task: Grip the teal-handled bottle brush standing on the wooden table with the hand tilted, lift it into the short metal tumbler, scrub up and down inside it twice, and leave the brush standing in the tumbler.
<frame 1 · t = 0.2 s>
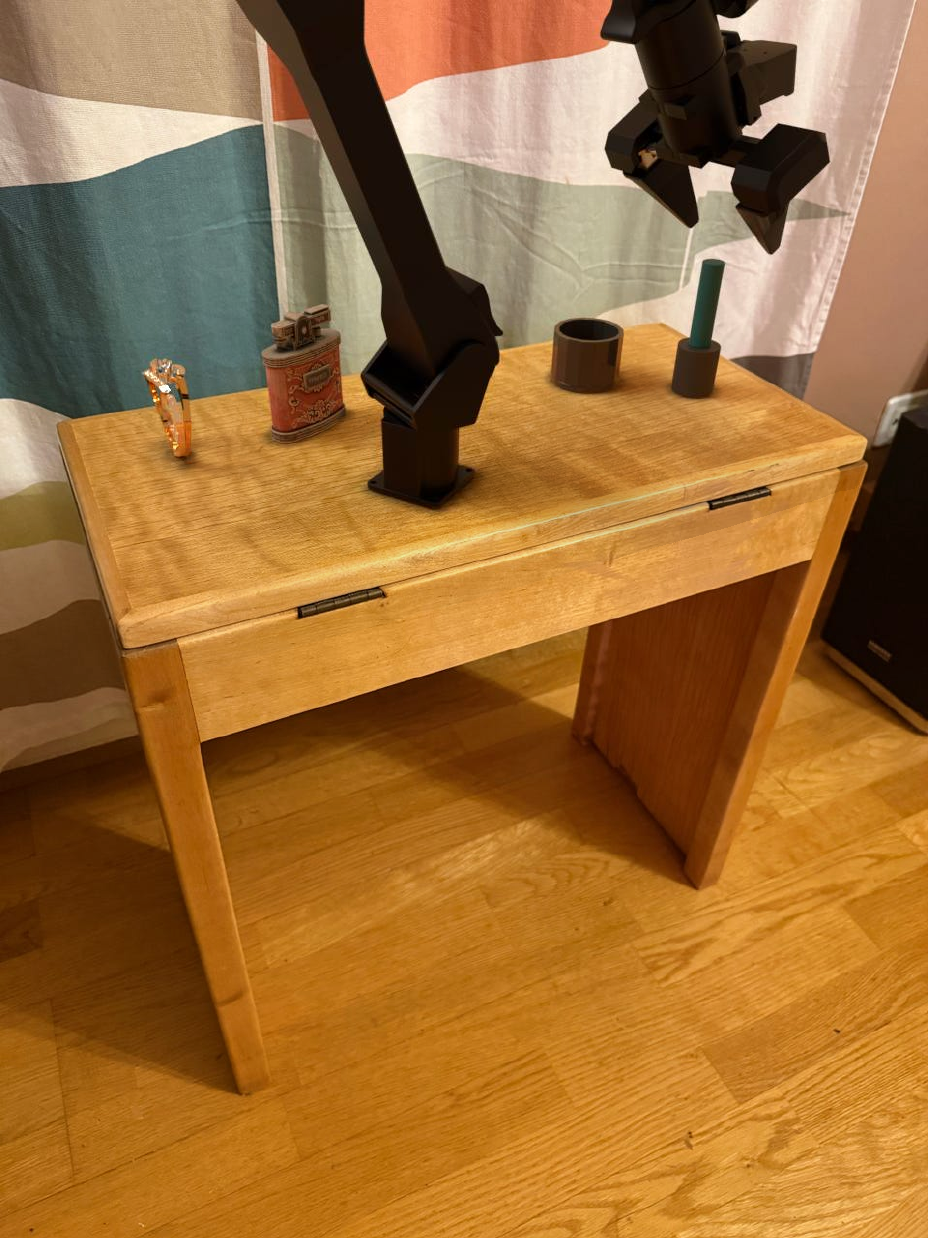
hand: (732, 237, 77), 15 cm above the table, tool tilted 35°, fingers open, 9 cm apart
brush: (691, 389, 88), on the table
ring: (179, 456, 76), on the table
tumbler: (584, 379, 90), on the table
lighter: (310, 427, 81), on the table
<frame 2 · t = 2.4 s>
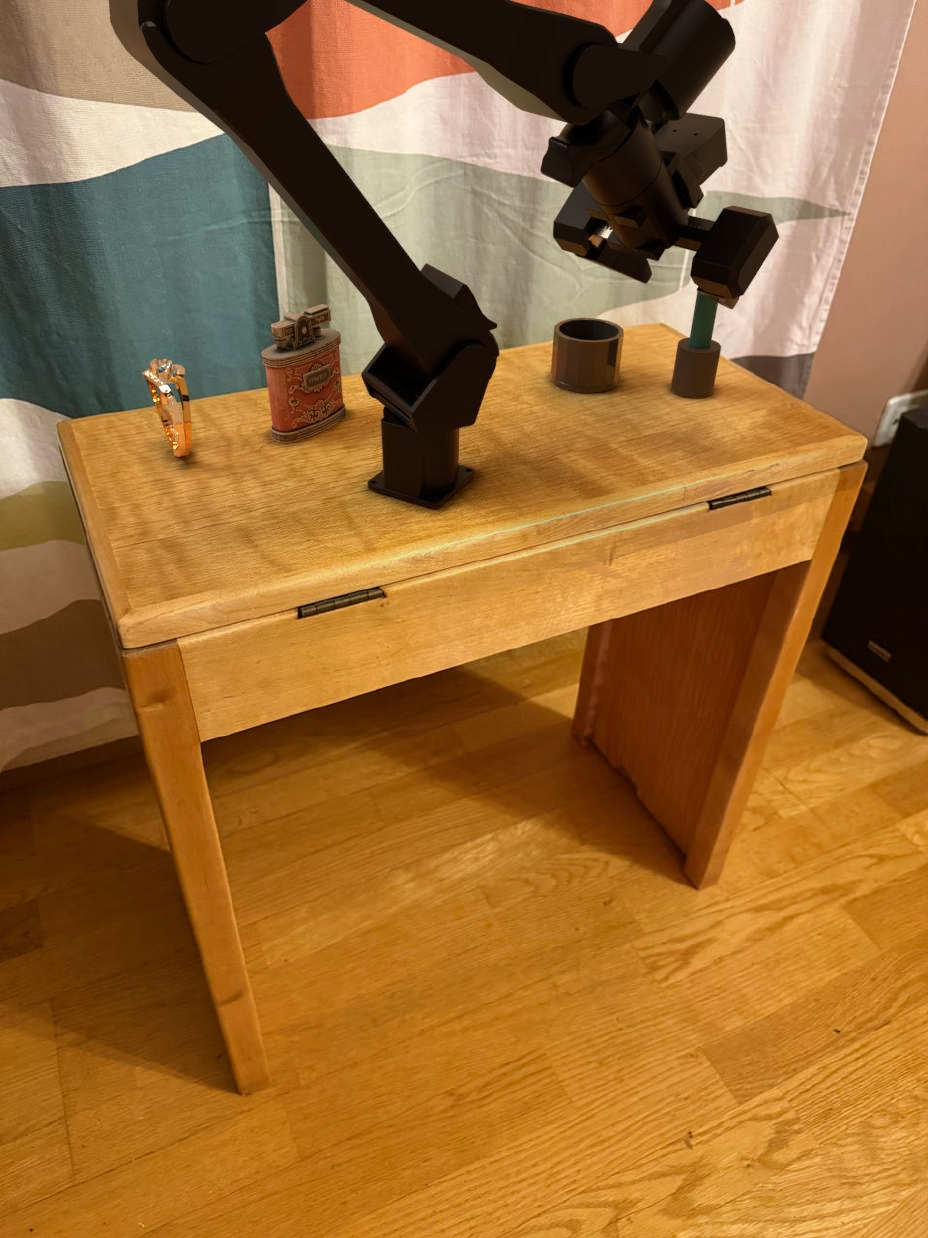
hand: (689, 290, 80), 10 cm above the table, tool tilted 45°, fingers open, 9 cm apart
nothing on the table moved.
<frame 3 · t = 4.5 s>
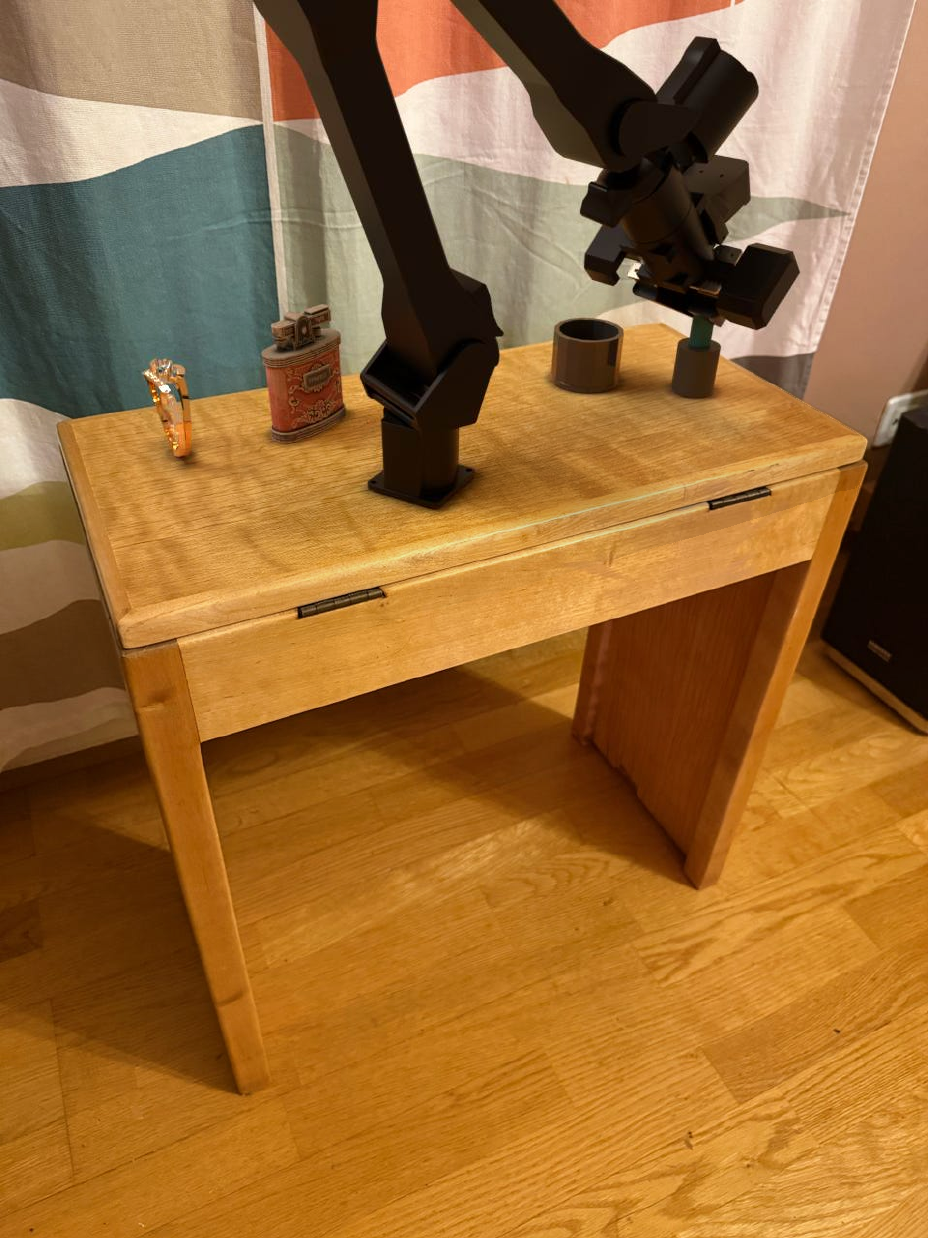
hand: (712, 318, 85), 7 cm above the table, tool tilted 45°, fingers closed on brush, 2 cm apart
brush: (691, 389, 88), on the table, touching gripper
everything else where it was.
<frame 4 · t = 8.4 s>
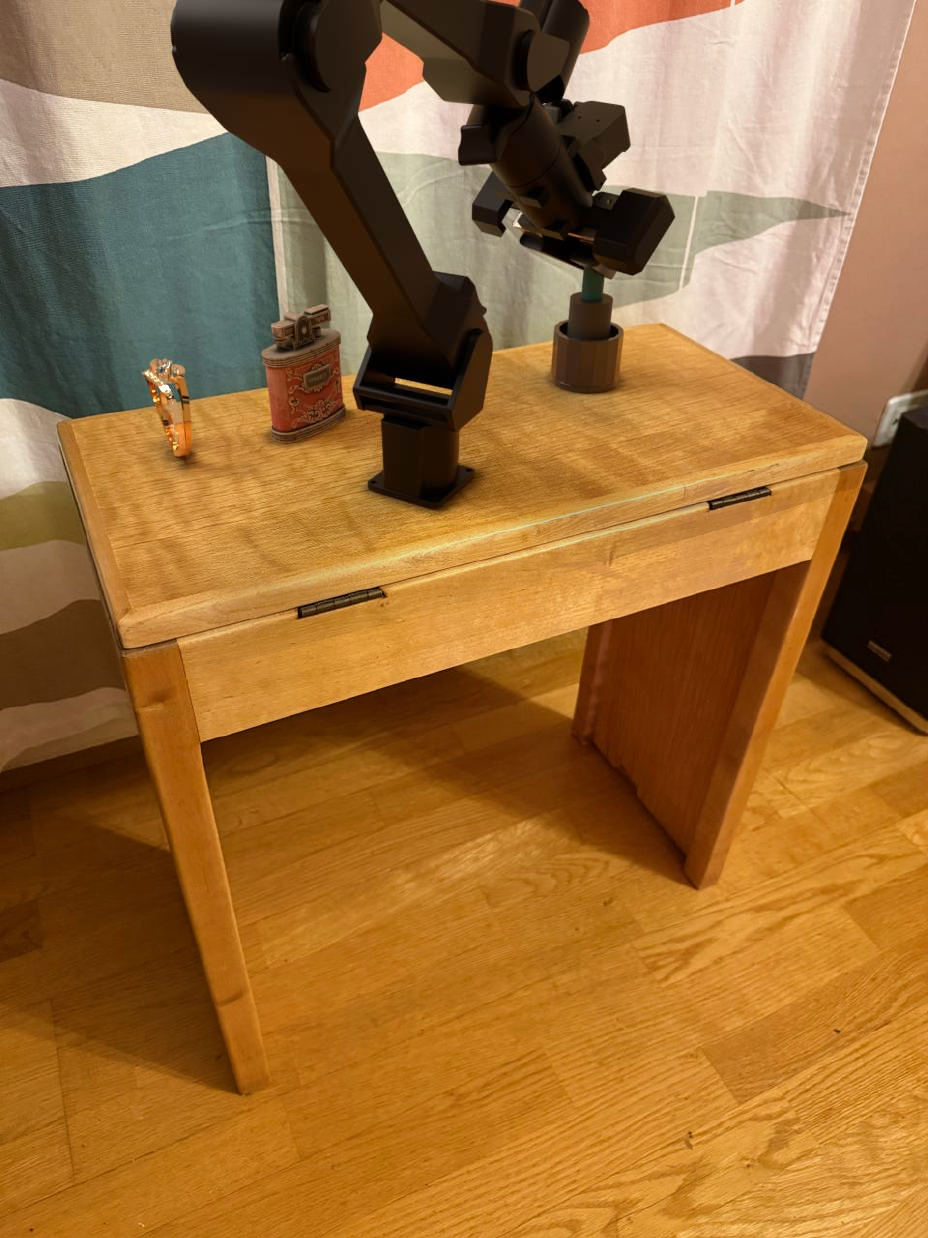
hand: (603, 271, 85), 10 cm above the table, tool tilted 45°, fingers closed on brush
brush: (587, 344, 88), point 4 cm above the table, touching gripper
everything else where it was.
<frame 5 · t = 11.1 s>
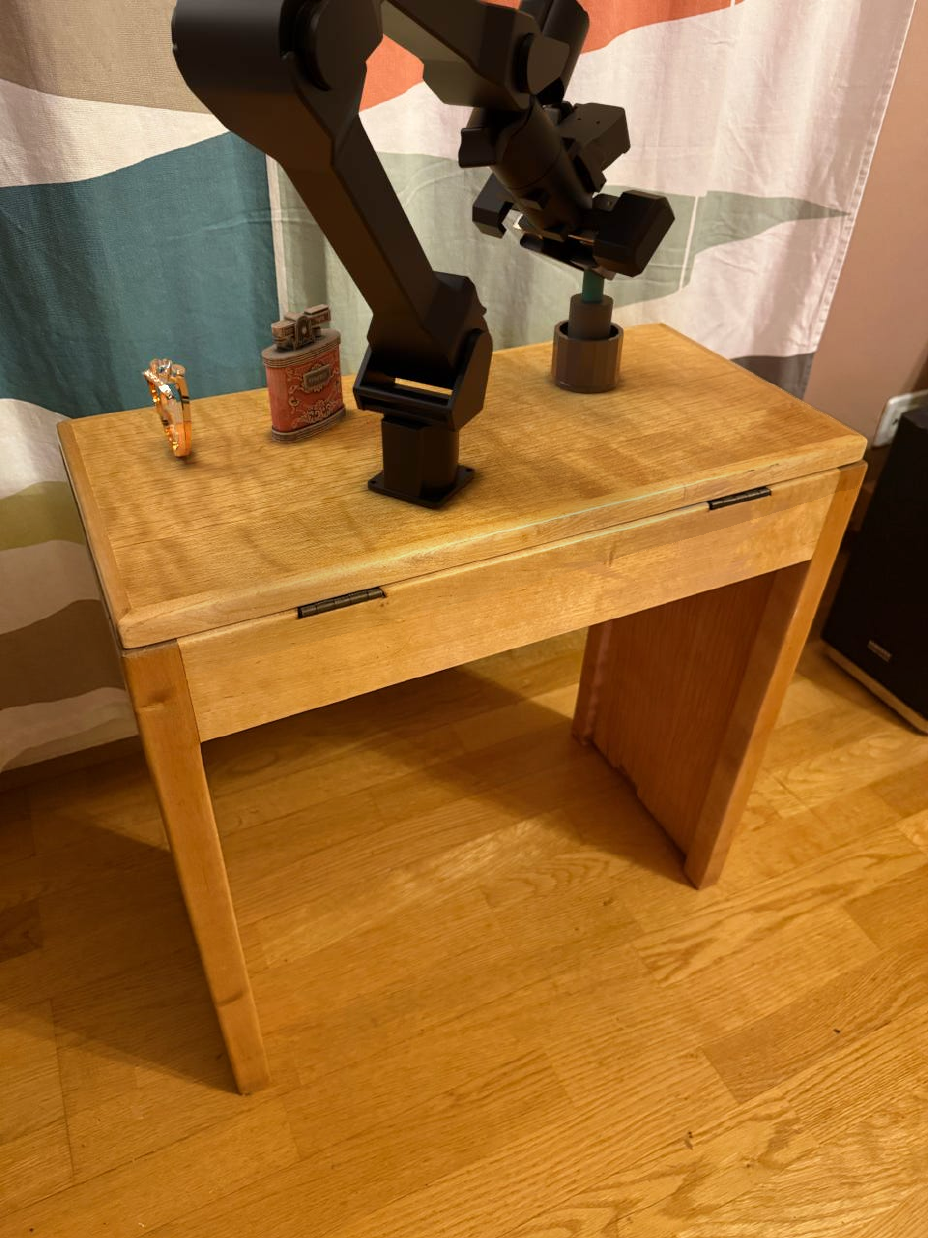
hand: (603, 273, 85), 10 cm above the table, tool tilted 45°, fingers closed on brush, 2 cm apart
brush: (587, 345, 88), point 3 cm above the table, touching gripper
everything else where it was.
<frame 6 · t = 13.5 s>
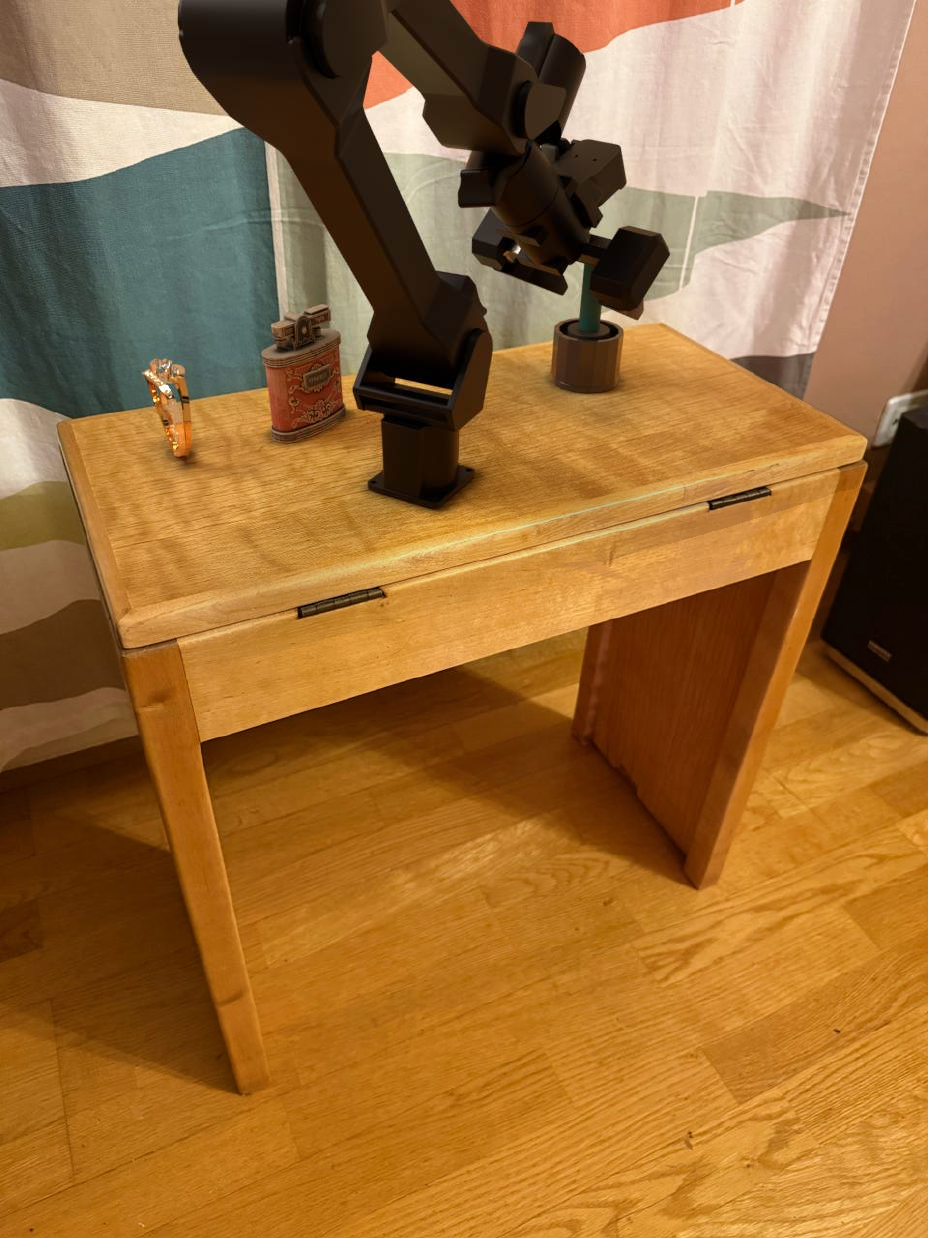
hand: (600, 302, 86), 7 cm above the table, tool tilted 45°, fingers open, 9 cm apart
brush: (584, 373, 90), point 1 cm above the table, touching tumbler
everything else where it was.
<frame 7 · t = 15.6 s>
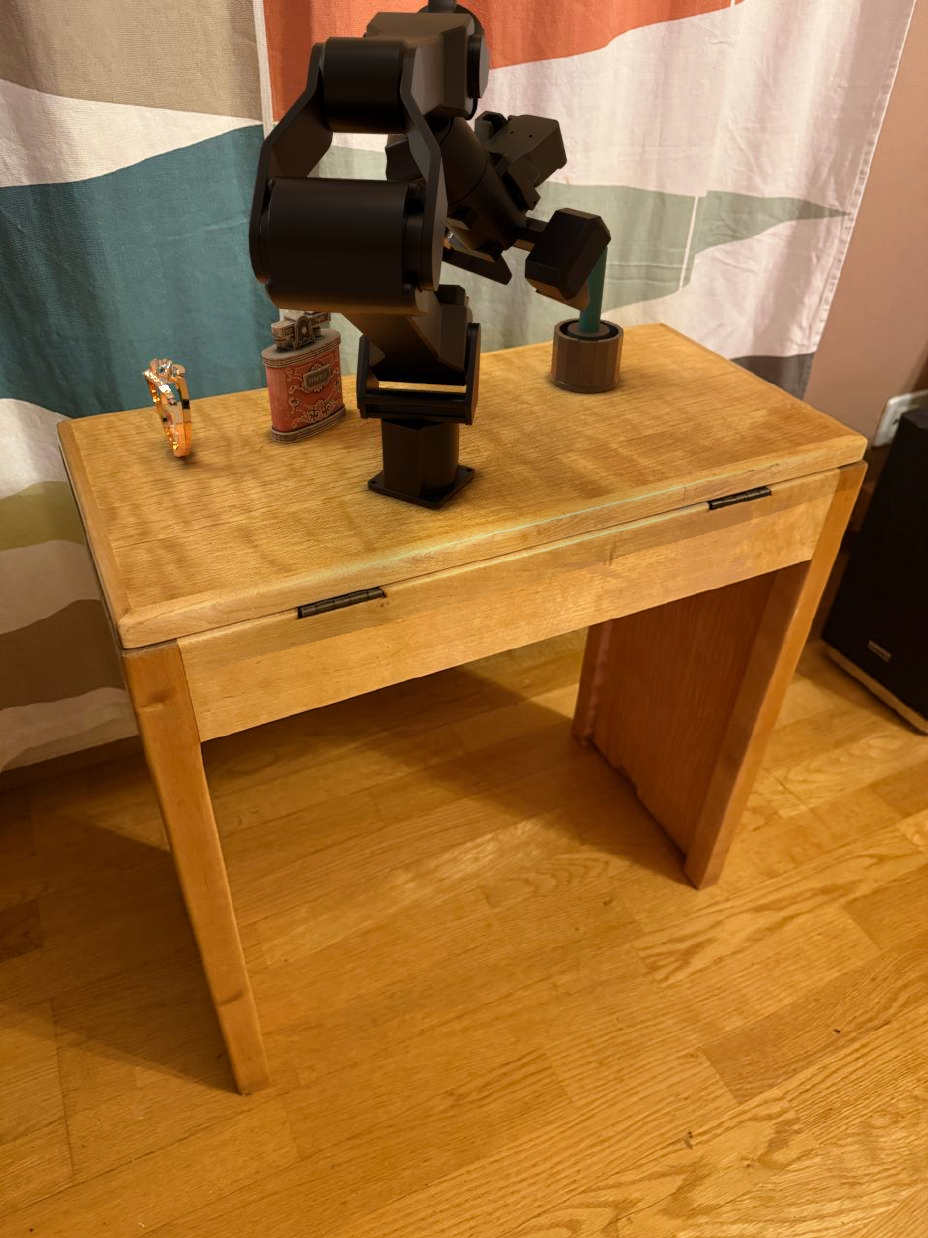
hand: (545, 292, 80), 10 cm above the table, tool tilted 45°, fingers open, 9 cm apart
nothing on the table moved.
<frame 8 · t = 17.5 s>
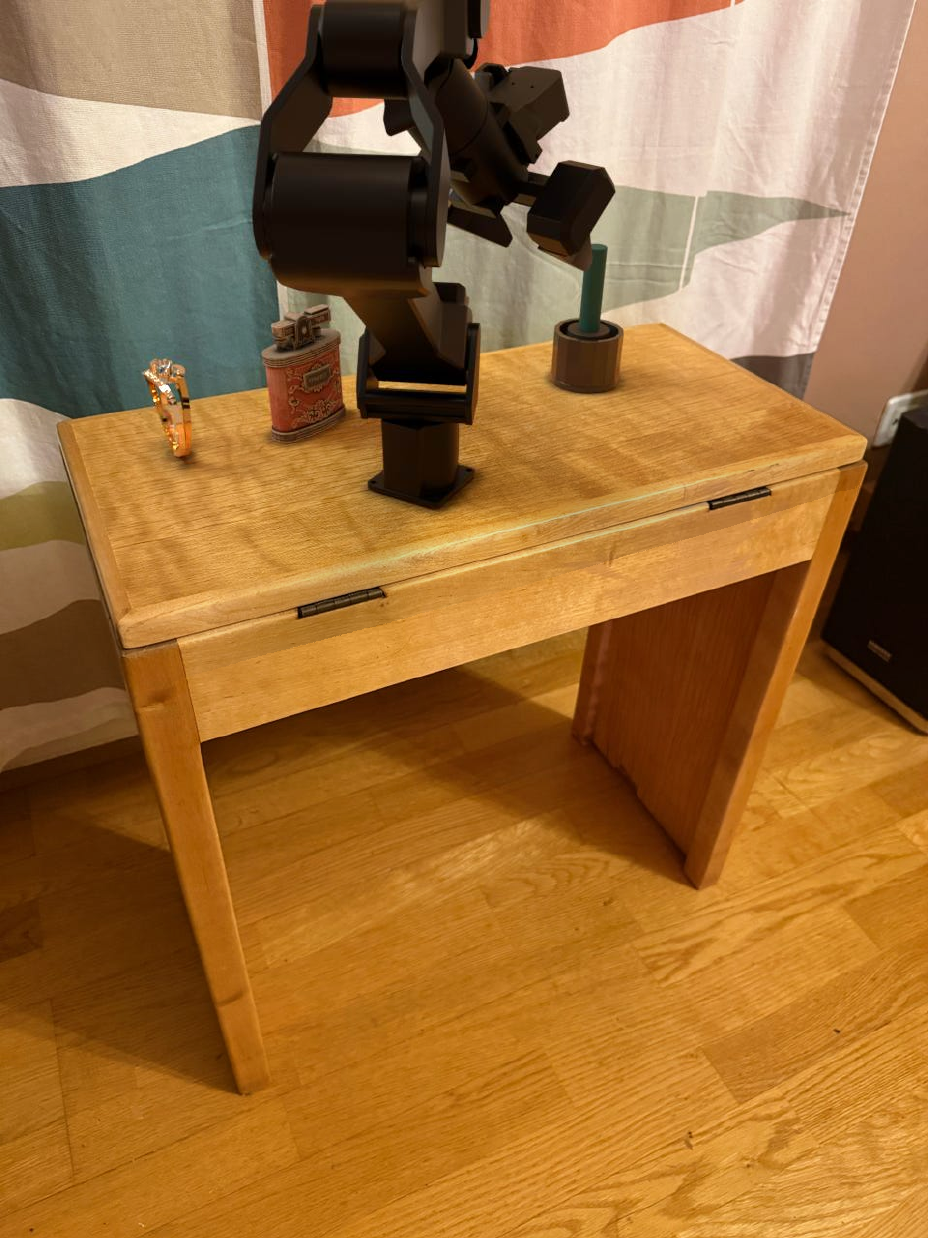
hand: (547, 254, 78), 13 cm above the table, tool tilted 45°, fingers open, 9 cm apart
nothing on the table moved.
at the end: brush 0.0 cm off-centre in the tumbler, point 0.6 cm above the tumbler's base; the gripper is holding nothing; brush tilted 0° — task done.
